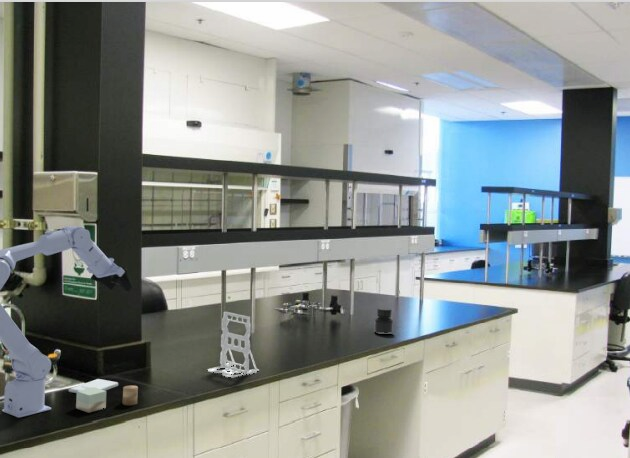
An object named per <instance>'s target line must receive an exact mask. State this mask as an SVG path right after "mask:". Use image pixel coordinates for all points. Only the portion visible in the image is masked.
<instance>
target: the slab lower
mask: <svg viewBox="0 0 630 458" xmlns="http://www.w3.org/2000/svg"><path fill="white" fill-rule="evenodd" d="M75 400H76V399H75ZM106 407H107V399H106V400H104V401H101V402H97V403H93V404H86V403H83V402H80V401H77V400H76V403H75V409H77V410H80V411H83V412H85V413H92V412H97V411H101V410H104V409H106ZM103 408H104V409H103Z"/></svg>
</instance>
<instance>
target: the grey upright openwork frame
mask: <svg viewBox="0 0 630 458" xmlns="http://www.w3.org/2000/svg"><path fill="white" fill-rule="evenodd" d="M222 314H223V317H222V318H221V331H222V334H221V335H220V347H221V351H220V354H219V355H220V357H219V364H220V365H219V366H215V367H211V368H207V370H208V371H207V372H208V373H211V374H217V373H218V374H221V373H222V374H221V375H222V377H224V376H225V377H224V378H228V377H231V378H230V379H235V378H238V376H239V377H242V375H243V376H250V375H254V374H253V373H255V374H257V373H258V372H257V371H259V372H260V369H258V368H257V365H256V361H255V360H254V355H253V353H252V351H251V341H250V337H251V332H252V331H251V330H252V329H251V327H252V324H251V316H248V315H243V314H239V313H238V314H237V313H234V312H229V311H223V313H222ZM228 316H230V317H231V318H229V317H228ZM233 317H235V319H233ZM239 318H240V319H241V320H239ZM244 320H246V322H245V321H244ZM230 322H234V323H236V324H237V323H239V324H243V325H244V328H245V330H246V331H245V333H244V334H243V335H240V334H236V333H232V332H229V328H228V326H229V323H230ZM229 338H230V339H231V340H230V341H231V342H230V344H229ZM235 340H237V345H235ZM243 341H244V347H242V342H243ZM232 351H235V352H239V353H243V354H242V355H243V356H244V361H243V363H242V364H241V363H237V362H236V361H235V359H234V355H233V353H232ZM227 353H229V356H230V358H231V360H228V356H227ZM249 355H250V358H251V361H252V365H253V367H254V368H253V369H250V358H249ZM233 365H234V366H233ZM236 365H237V366H239V368H238V367H237V366H236ZM231 366H232V367H231ZM242 367H243V368H244V369H242ZM220 368H225V369H220ZM217 369H218V370H217ZM227 371H230V372H227ZM213 372H214V373H213ZM241 372H242V373H241ZM234 373H236V374H234ZM239 373H241V374H239ZM243 373H244V374H243ZM231 374H232V375H231ZM246 374H247V375H246ZM249 374H250V375H249Z"/></svg>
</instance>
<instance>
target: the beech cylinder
mask: <svg viewBox="0 0 630 458" xmlns="http://www.w3.org/2000/svg"><path fill="white" fill-rule="evenodd" d="M122 389H123V390H122V405H124V406H135V405H137V404H138V393H139V392H138V390H139V387H138V386H137V385H125V386H123V387H122Z"/></svg>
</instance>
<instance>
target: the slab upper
mask: <svg viewBox="0 0 630 458" xmlns="http://www.w3.org/2000/svg"><path fill="white" fill-rule="evenodd" d="M75 400H77V401H80V402H83V403H86V404H93V403H97V402H101V401H104V400H106V401H107V390H105V391H104V390H101V389H98V388H95V387H92V388H88V389H84V390H80V391H77V393H76V399H75Z"/></svg>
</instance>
